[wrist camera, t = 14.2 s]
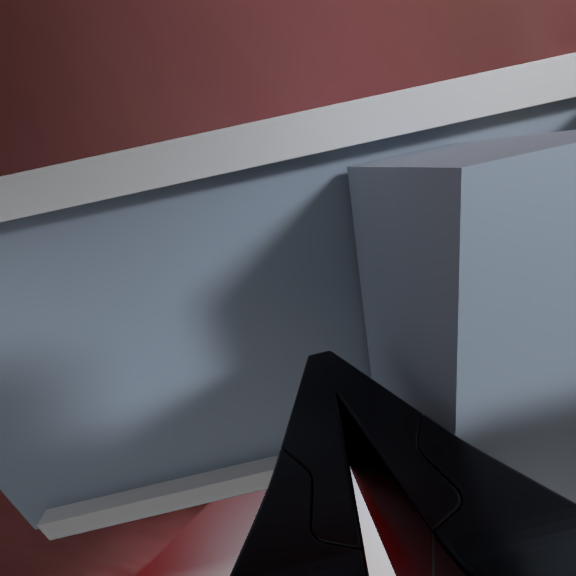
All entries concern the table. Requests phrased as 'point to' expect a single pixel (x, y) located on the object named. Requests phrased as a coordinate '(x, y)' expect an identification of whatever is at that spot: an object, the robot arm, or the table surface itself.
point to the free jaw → (477, 293)
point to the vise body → (203, 293)
